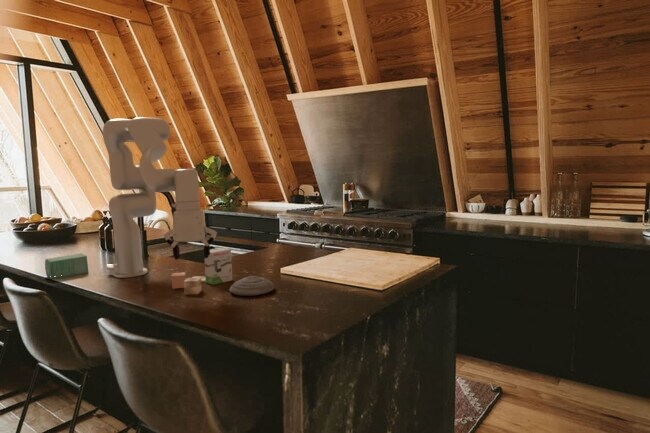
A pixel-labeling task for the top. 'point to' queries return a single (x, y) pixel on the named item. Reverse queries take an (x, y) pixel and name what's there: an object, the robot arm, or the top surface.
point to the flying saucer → (252, 286)
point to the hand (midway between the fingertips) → (192, 258)
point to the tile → (201, 278)
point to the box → (66, 266)
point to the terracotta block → (178, 280)
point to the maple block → (192, 286)
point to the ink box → (218, 266)
